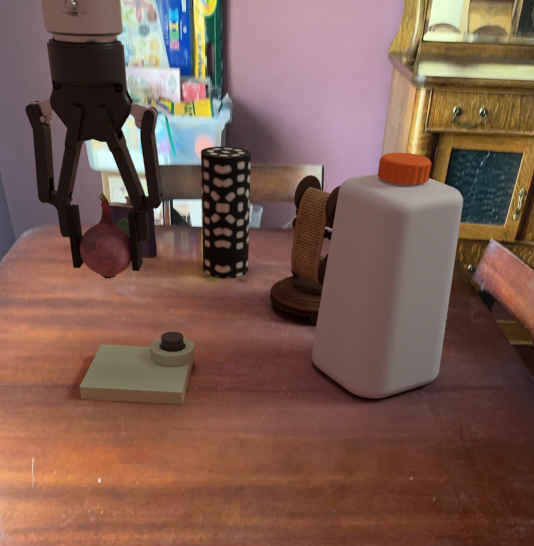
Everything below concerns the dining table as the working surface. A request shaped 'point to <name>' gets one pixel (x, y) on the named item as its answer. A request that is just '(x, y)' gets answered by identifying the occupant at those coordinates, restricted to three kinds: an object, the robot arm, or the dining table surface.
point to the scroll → (307, 250)
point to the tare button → (172, 341)
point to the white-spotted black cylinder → (225, 210)
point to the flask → (121, 220)
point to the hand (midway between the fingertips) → (108, 265)
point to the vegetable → (106, 245)
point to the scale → (139, 374)
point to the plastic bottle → (388, 279)
